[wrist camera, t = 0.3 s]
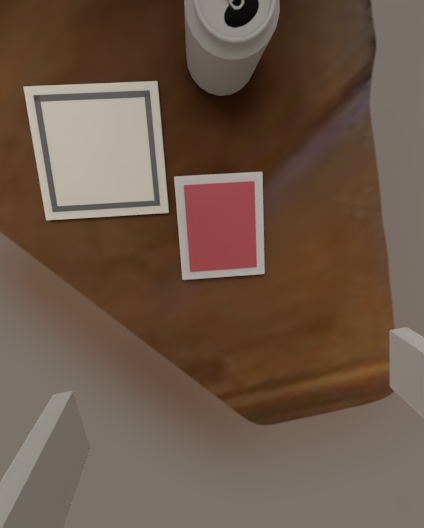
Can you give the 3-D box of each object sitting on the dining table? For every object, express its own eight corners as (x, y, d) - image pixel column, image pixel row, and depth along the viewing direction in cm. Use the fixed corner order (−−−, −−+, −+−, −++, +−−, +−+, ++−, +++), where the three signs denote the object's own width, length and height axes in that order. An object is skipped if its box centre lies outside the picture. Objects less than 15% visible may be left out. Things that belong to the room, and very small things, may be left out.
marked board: (27, 89, 34) (22, 86, 33) (158, 83, 35) (157, 80, 34) (49, 219, 37) (45, 220, 36) (169, 212, 38) (168, 212, 37)
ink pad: (174, 177, 37) (173, 176, 35) (259, 172, 37) (263, 171, 35) (182, 276, 39) (182, 280, 38) (261, 270, 40) (265, 274, 38)
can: (210, 112, 36) (220, 71, 24) (172, 48, 34) (163, -28, 22) (266, 72, 35) (304, 12, 23) (230, 6, 34) (252, -94, 22)
